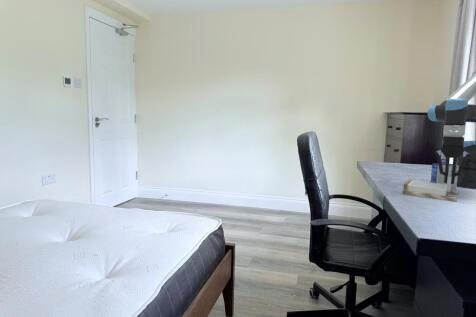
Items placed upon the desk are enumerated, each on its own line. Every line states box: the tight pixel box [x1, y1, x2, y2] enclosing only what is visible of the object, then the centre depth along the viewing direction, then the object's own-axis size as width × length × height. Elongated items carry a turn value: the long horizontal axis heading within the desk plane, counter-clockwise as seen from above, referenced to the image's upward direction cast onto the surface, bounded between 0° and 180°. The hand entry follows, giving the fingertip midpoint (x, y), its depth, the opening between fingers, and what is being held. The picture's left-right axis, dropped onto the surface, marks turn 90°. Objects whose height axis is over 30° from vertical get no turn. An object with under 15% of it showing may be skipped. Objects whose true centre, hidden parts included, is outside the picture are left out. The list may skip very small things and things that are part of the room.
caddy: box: [407, 179, 448, 196], centre depth 143 cm, size 14×14×4 cm
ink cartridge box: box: [430, 158, 459, 191], centre depth 153 cm, size 10×6×14 cm, turn 89°
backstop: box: [402, 178, 459, 202], centre depth 143 cm, size 20×16×4 cm
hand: (448, 191), depth 139 cm, fingers closed
